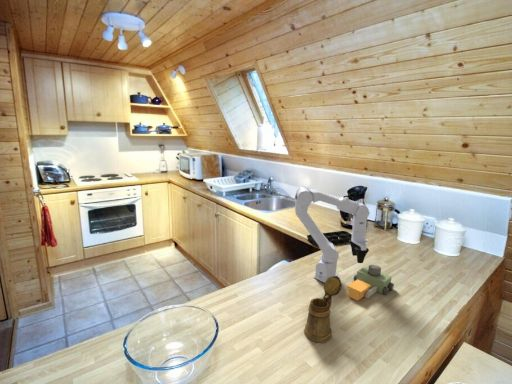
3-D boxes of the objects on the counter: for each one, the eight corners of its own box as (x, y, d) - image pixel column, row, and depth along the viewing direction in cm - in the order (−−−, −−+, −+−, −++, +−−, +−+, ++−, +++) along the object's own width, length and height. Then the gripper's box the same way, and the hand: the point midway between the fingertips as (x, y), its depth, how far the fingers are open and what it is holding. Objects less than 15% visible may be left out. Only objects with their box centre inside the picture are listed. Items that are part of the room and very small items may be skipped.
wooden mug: (345, 329, 99) (349, 280, 95) (319, 347, 91) (323, 295, 87) (323, 316, 106) (327, 270, 102) (298, 331, 97) (301, 282, 93)
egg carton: (303, 241, 177) (303, 235, 177) (337, 233, 193) (338, 227, 192) (323, 251, 163) (324, 245, 162) (359, 241, 178) (359, 236, 178)
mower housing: (376, 302, 115) (378, 282, 113) (343, 287, 125) (345, 269, 123) (393, 288, 125) (395, 270, 123) (362, 276, 135) (364, 259, 133)
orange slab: (359, 301, 114) (360, 291, 113) (346, 295, 119) (347, 285, 118) (369, 294, 120) (370, 285, 119) (356, 288, 124) (357, 279, 123)
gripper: (374, 236, 121) (372, 266, 124) (363, 224, 135) (361, 252, 138) (357, 236, 121) (355, 266, 124) (347, 225, 135) (346, 252, 138)
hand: (357, 259), depth 131 cm, fingers open, 7 cm apart
